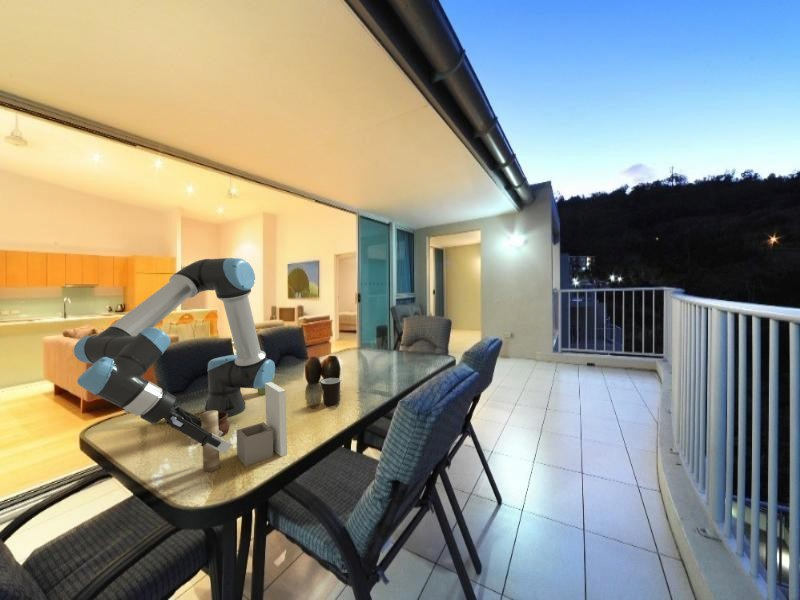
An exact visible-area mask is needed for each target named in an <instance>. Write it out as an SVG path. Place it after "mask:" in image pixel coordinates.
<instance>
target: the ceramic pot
mask: <svg viewBox="0 0 800 600" xmlns="http://www.w3.org/2000/svg"><path fill="white" fill-rule="evenodd" d="M233 424H234V425H236V423H235V422H234V423H233ZM238 424H239V423H238ZM239 425H240V424H239ZM218 427H219V431H221V432H223V434H222V435H221V437H220V438H222V437H224V436H226V435H228V433H229V429H230V422H229V421H228V413H226V412H224V411H222V412H218Z"/></svg>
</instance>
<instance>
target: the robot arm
mask: <svg viewBox="0 0 800 600" xmlns="http://www.w3.org/2000/svg"><path fill="white" fill-rule="evenodd" d="M169 277H170V278H169V279H168V280H169V282H168V283H166V284H165V285H163V286H162V287H161V288H160V289H158V290H157V291H156V292H154V293H153V294H151V295H149V296H148V297H147V298H146V299H145V300H143V301H142V302H141V303H139V304H138V305H137V306H135V307H134V308H133V309H131V310H130V311H129V312H127V313H126V314H124V315H123V316H122V317H121V318H119V319H117V321H115V322H114V323H113V324H111V325H110V326H108V327H107V328H106V329H105V330H103V331H101V332H100V333H99V334H91V335H87V336H84V337H82V338H80V339H79V340H78V341H76V343H75V345H74V348H73V354H74V356H75V358H76V359H77V360H78V361H79V362H82V363H85V364H91V366H90V367H88V368H86V370H85V371H84V372H83V373H81V375H80V376H78V378H77V385H79V386H80V387H81V388H83V389H84V390H86V391H87V392H89V393H91V394H93V395H95V396H97V397H98V398H99V397H100V398H101V399H102V400H105V401H107V402H110V403H112V404H114V405H116V406H117V407H119V408H121V409H124V411H123V412H124V414H129V412H130V413H131V414H133V415H135V416H140V419H142V420H144V421H145V422H148V423H150V424H153V425H154V424H157V423H158V422H160V421H161V420H164V419H165V421H166V424H167V425H169V426H170V427H171V428H173V429H175V430H177V431H180V432H181V433H182V434H185V435H186V436H188V437H189V438H191V439H193V440H194V441H196V442H198V443H199V444H201V445H200V447H203V446H204V445H205V444H207V445H208V446H210V447H212V448H214V449H216V450H218V451H219V453H222V454H224V455H225V454H227V452H228V450H229V449H230V448H231V447H232V443H230V442H228V441H227V440H225V439H223V438H222V437H221V435H222V434H223V432H221V431H219V437H218V436H216V435H214V434H213V433H212V434H211V433H209V432H207V431H206V430H204V429H203V428H202V418H201V417H199V416H197V415H194V414H193V413H191V412H188V411H187V410H185V409H184V408H181V407H180V406H178V405H176V402H177V397H176V396H175V395H173V394H171V393H170V392H169V391H166V390H164V391H163V388H162V387H160V386H158V385H156V384H155V383H153V382H151V381H150V380H147V379H146V378H144V377H143V376H144V375H145V373H146V372H148V370H149V369H150V368H151V367H152V366H153V365H154V364H155V363H156V362H157V360H158V359H159V358H161V356H162V355H164V353H165V351H166V350H167V349H168V348H169V346H170V345H171V344H172V343H171V342H172V341H171V338H170V336H169V335H168V334H167V333H166V332H165V331H164V330H161V329H159V328H157V327H156V325H158V324H159V323H160V322H161V321H162V320H164V319H165V318H166V317H167V316H169V315H170V314H171V313H173V311H175V310H176V308H178V307H179V306H180V305H181V304H182V303H184V302H185V301H186V300H187V299H188V298H189V299H190V298H194V297H196V296H197V295H198V294H200V293H201V292H205V291H207V292H208V291H215V295H216V299H218V300H221V302H223V307H224V310H225V314H226V317H227V322H228V325H229V329H230V333H231V337H232V340H233V344H234V349H235V353H236V354H230V355H225V356H219V357H216V358H215V357H214V358H213V359H211V360H209V361H208V363H207V385H208V386H207V387H208V397H207V400H206V403H205V407H204V410H203V413H204V412H207V411H212V410H216V411H218V412H222V411H224V412H226V413H228V417H232V416H235V415H238V414H240V413H242V412H244V411H245V409H246V402H245V399H244V398H245V397H244V396H243V393H242V391H241V389H255V390H258V389H257V388H265V383H269V382H271V381H272V379H273V376H274V374H275V371H276V365H275V362H274V360H272V359H269V358H267V354H266V352H265V351H264V350H261V346H260V342H259V338H258V333H257V330H256V329H257V328H256V326H255V320H254V317H253V316H254V315H253V311H252V309H251V303H250V300H249V299H250V298H249V295H250V294H251V293H252V288H253V287H254V285H255V280H256V274H255V272H254V269H253V266H252V265H251V264H250V262H248V261H247V260H245V259H243V258H237V257H236V258H234V257H225V258H224V257H223V258H221V257H220V258H205V259H204V258H203V259H199V260H197V261H194V262H192V263H190V264H188V265H187V266H184V267H183V268H181V269H180V270H178V271H176V273H174V274H173V275H171V276H169ZM274 377H275V376H274ZM273 380H274V379H273ZM228 417H227V418H228Z"/></svg>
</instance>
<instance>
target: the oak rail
mask: <svg viewBox="0 0 800 600" xmlns="http://www.w3.org/2000/svg"><path fill="white" fill-rule="evenodd" d="M200 415H201V416H200V417H201V419H202V428H203V429H204V430H206V431H207V432H209V433H211V434H212V433H213V434H214V435H216V436H218V437H219V427H218V411H216V410H212V411H207V412H204V411H203V413H201V414H200ZM220 460H221V459H220V451H218V450H216V449H214V448H212V447H210V446H208V445H207V444H205V445H204V446H202V466H203V467H202V470H203V471H202V472H203V473H212V472H215V471H217V470H219V468H220V466H221V463H220Z"/></svg>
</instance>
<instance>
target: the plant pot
mask: <svg viewBox="0 0 800 600" xmlns="http://www.w3.org/2000/svg"><path fill="white" fill-rule="evenodd" d="M275 375H276V374H275V373H274V376H273V379H272V381H271V382H272V383H274V380H275V379H274V377H275ZM256 390H257V394H258V395H260V396H266V395H265V388H257V389H256Z"/></svg>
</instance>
